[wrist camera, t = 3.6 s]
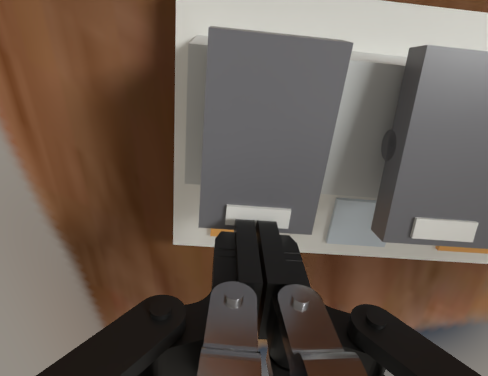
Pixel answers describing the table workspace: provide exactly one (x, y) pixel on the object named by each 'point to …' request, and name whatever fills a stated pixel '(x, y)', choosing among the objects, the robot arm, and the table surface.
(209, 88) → the block
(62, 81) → the table surface
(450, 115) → the rocker middle
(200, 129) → the switch unit
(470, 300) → the table surface
